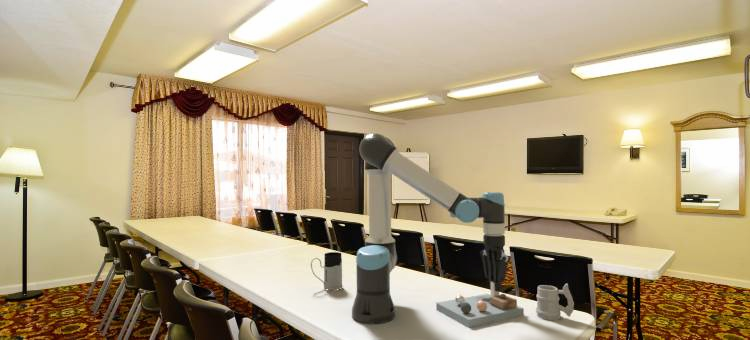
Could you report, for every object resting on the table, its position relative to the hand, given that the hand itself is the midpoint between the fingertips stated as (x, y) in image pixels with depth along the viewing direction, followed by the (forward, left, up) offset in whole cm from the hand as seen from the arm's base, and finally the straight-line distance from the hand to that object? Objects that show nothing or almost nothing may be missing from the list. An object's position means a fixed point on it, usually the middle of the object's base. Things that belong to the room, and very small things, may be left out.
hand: (495, 299), depth 132 cm
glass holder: (-47, +53, -4) cm, 71 cm away
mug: (+13, -14, -4) cm, 20 cm away
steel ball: (-13, +4, 0) cm, 13 cm away
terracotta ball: (-10, -4, 0) cm, 11 cm away
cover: (0, -4, -1) cm, 4 cm away
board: (-7, +1, -4) cm, 8 cm away
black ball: (-16, -3, 0) cm, 16 cm away
